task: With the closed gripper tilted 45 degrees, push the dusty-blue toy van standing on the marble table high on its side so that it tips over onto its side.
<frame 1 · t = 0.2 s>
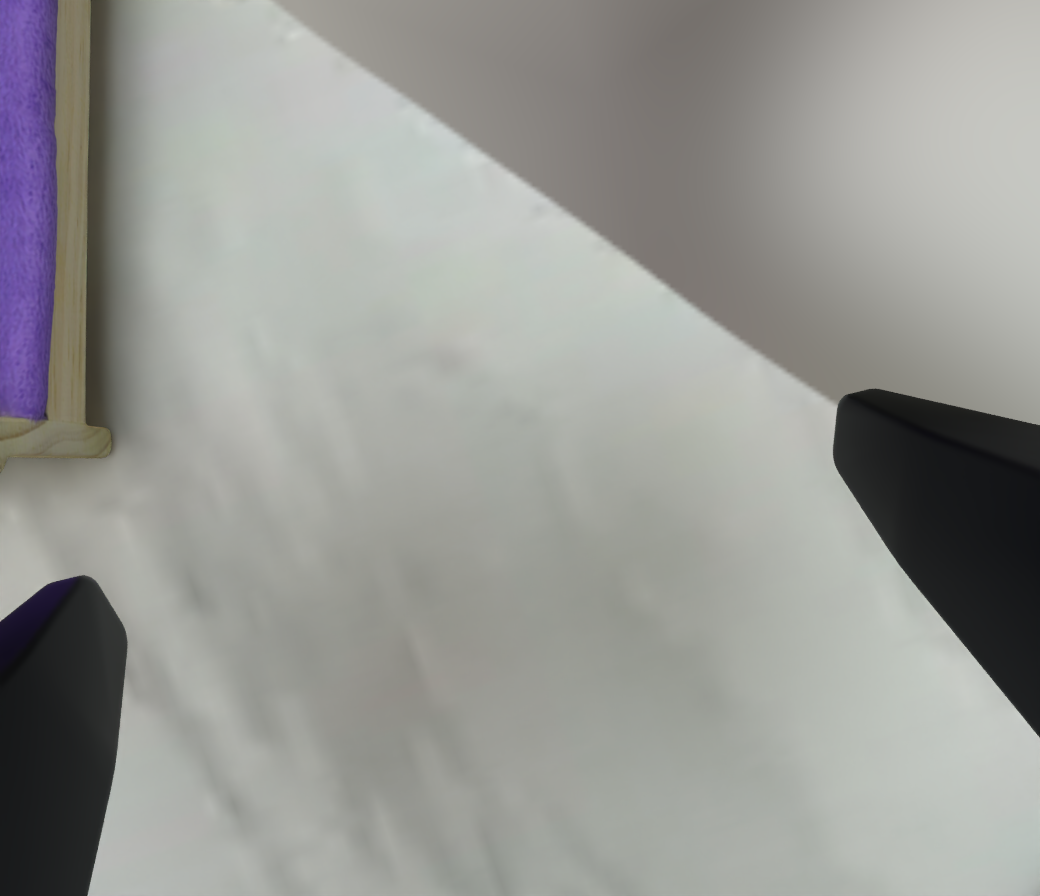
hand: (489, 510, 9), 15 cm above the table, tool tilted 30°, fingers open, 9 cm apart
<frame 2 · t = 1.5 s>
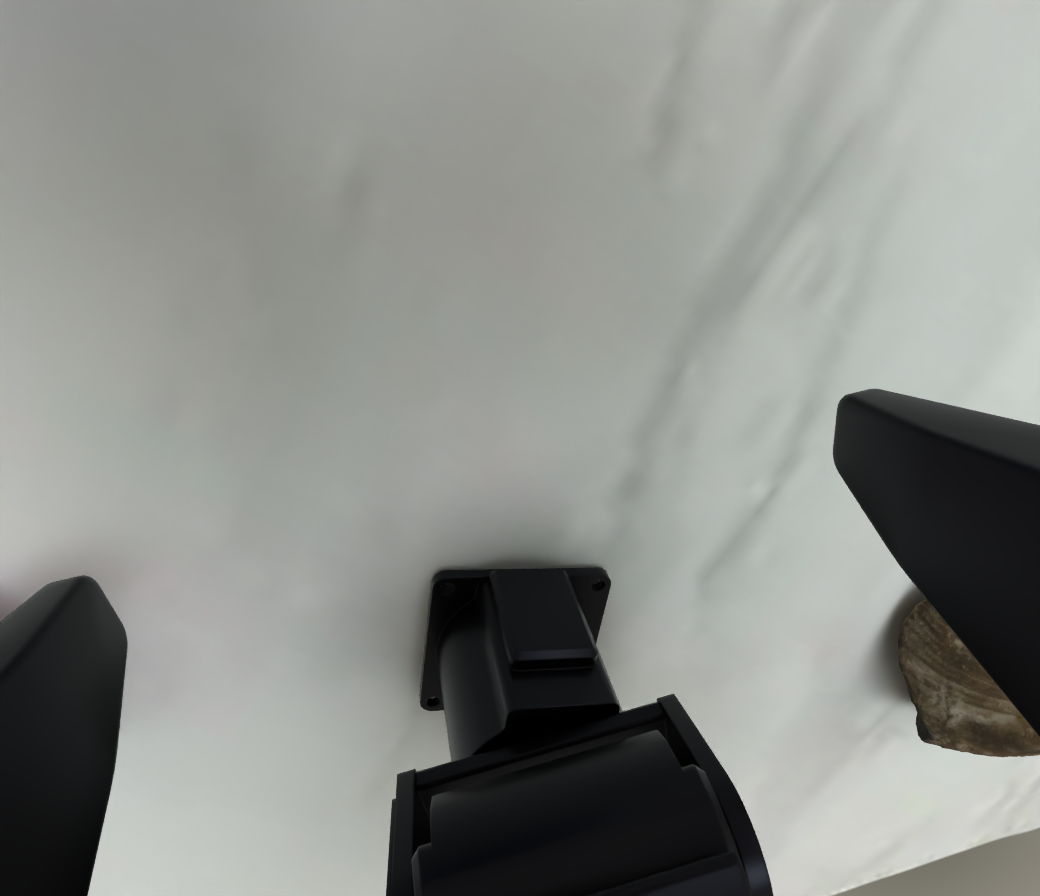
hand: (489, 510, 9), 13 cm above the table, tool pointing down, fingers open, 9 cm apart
fossilized seashell: (954, 630, 33), on the table
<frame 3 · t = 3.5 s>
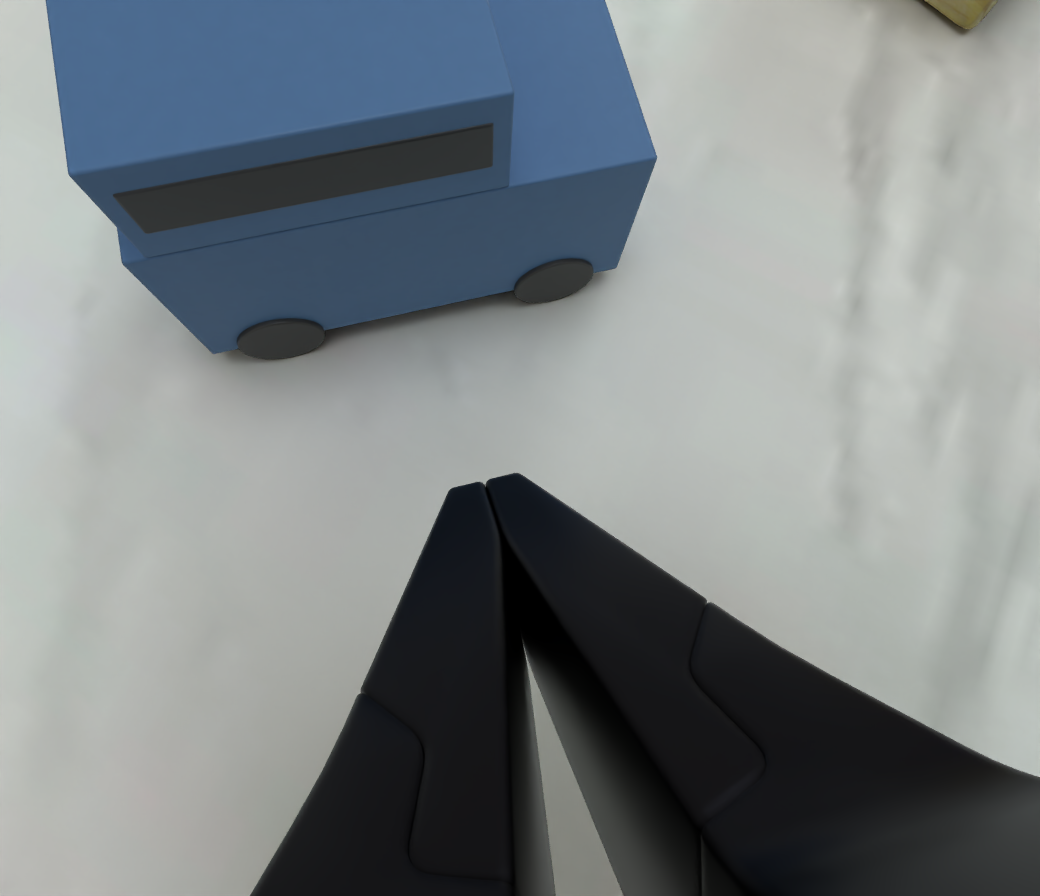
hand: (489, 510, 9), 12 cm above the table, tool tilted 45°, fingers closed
toy van: (405, 248, 23), on the table
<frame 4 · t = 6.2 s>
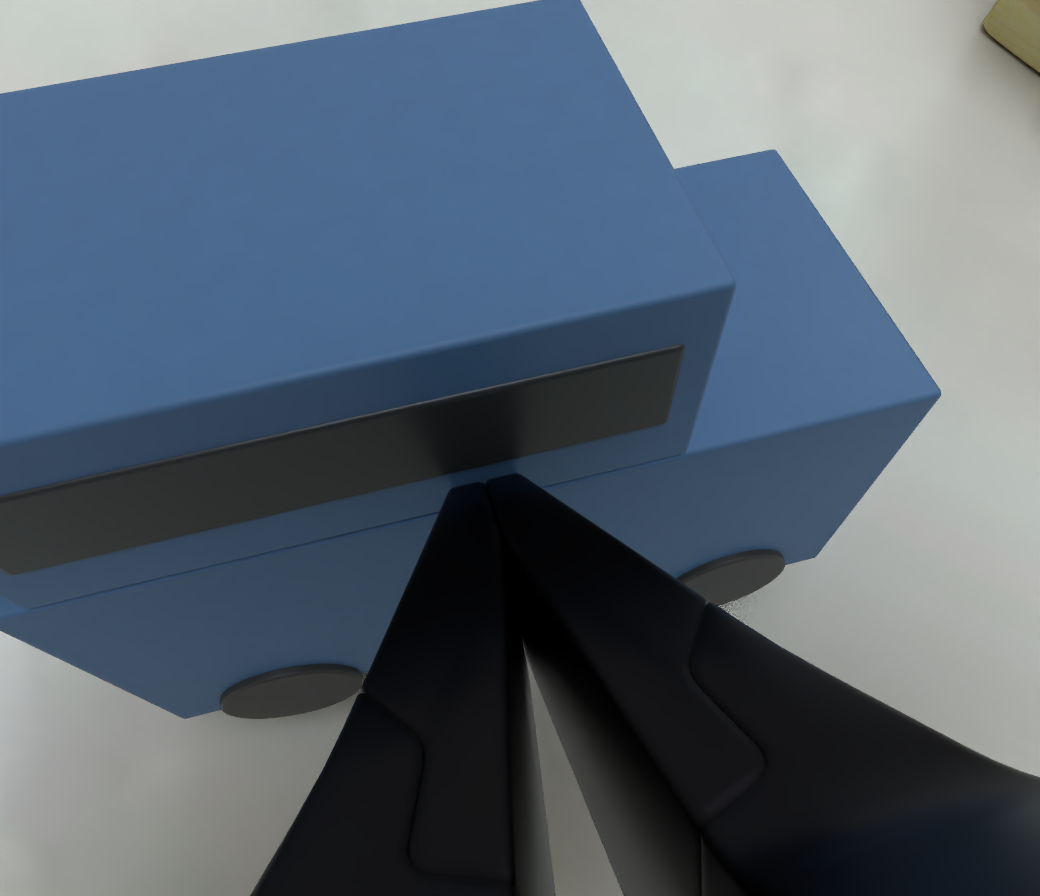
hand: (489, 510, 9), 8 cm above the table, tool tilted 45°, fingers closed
toy van: (486, 534, 16), point 1 cm above the table, tilted 18°
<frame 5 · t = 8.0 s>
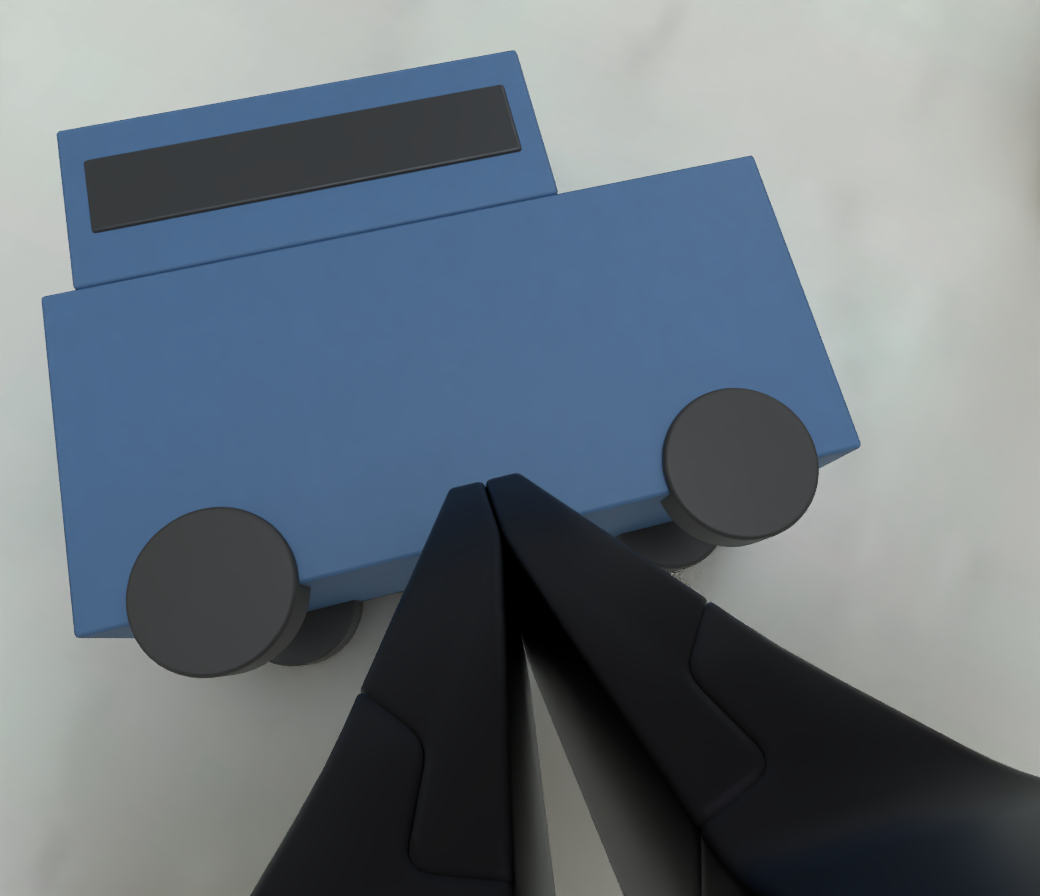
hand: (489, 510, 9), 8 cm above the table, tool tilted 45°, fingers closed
toy van: (502, 611, 13), point 3 cm above the table, tilted 91°
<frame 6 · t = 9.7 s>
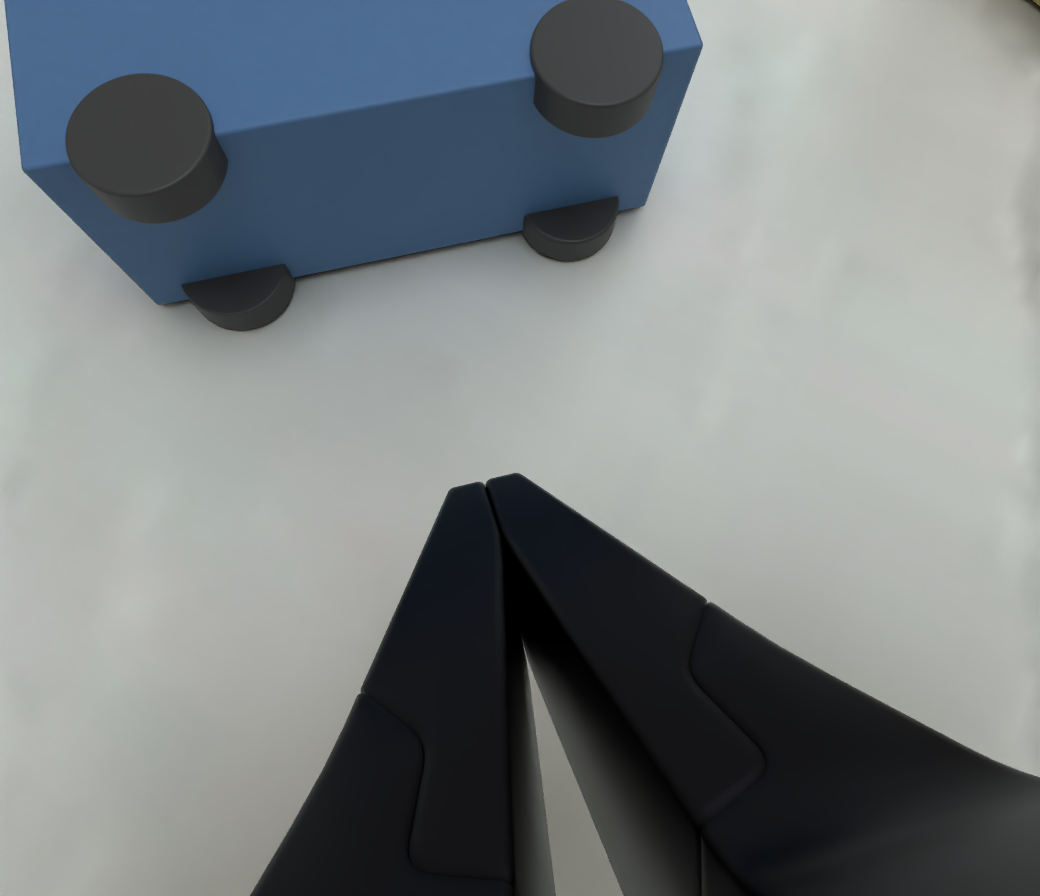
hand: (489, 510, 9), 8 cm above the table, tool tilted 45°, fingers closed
toy van: (406, 234, 15), point 3 cm above the table, tilted 91°
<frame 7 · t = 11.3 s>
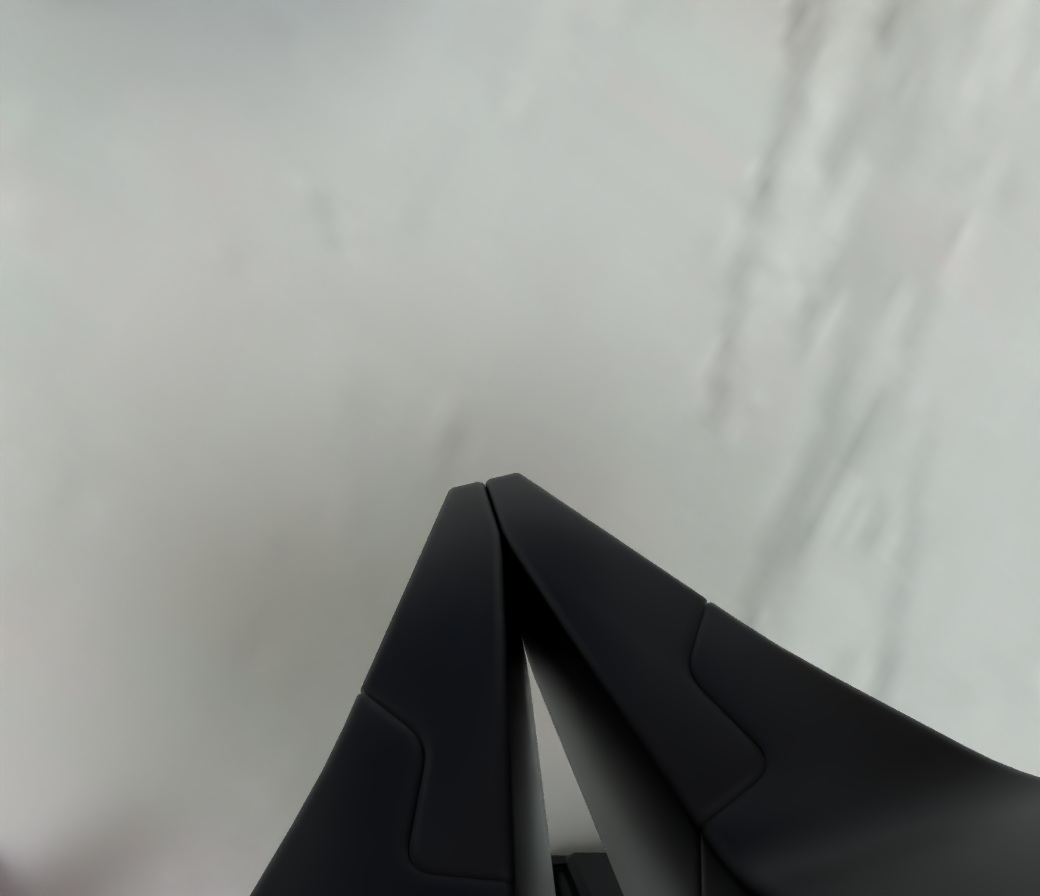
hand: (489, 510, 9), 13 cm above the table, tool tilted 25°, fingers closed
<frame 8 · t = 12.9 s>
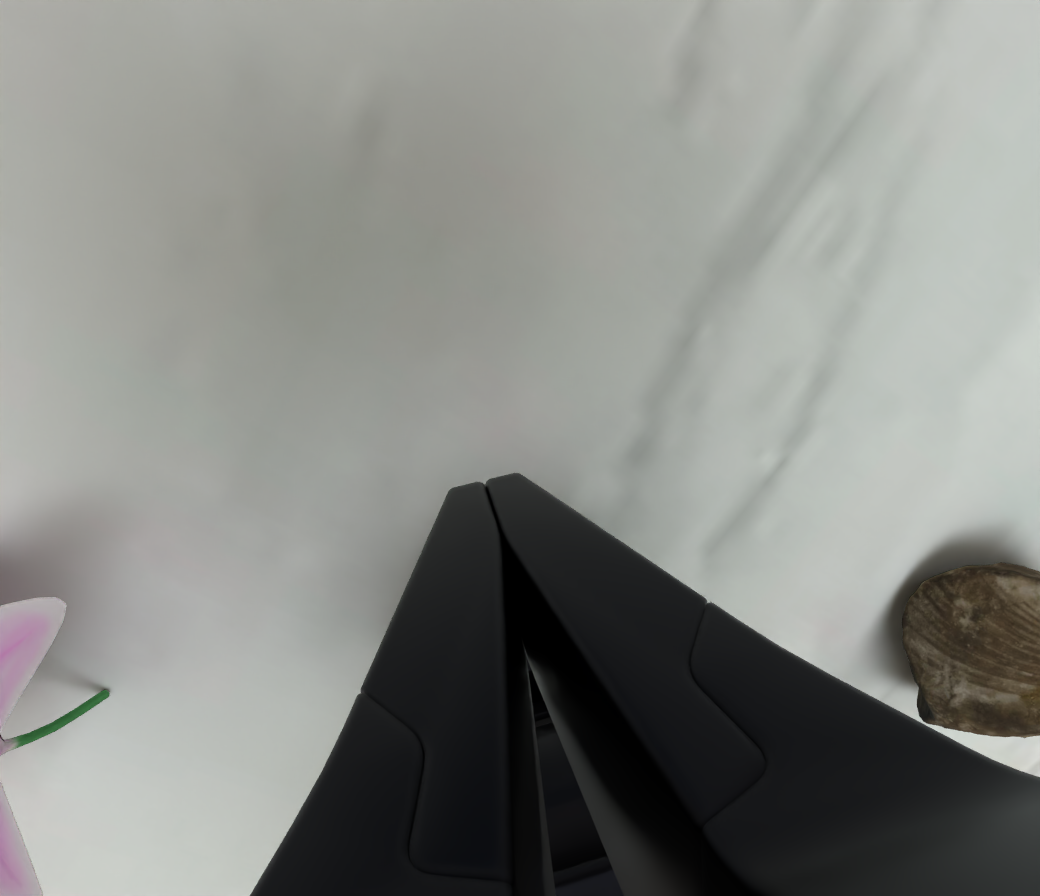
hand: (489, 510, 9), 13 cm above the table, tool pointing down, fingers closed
fossilized seashell: (957, 611, 33), on the table
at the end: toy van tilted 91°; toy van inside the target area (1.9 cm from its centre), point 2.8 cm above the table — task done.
